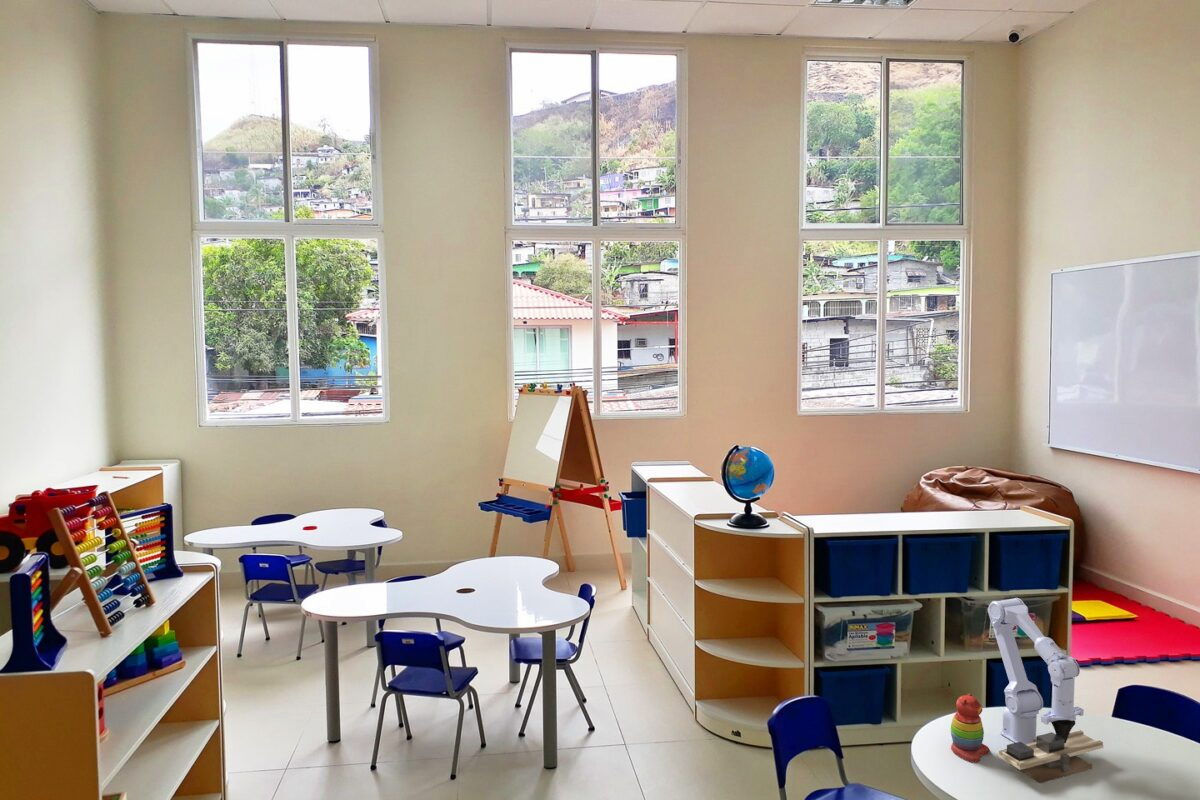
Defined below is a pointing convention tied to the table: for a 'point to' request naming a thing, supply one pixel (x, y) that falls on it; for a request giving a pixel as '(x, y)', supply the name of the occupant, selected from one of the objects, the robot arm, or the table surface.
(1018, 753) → the block
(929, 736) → the table surface
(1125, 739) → the table surface
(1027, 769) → the beam stand
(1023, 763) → the balance beam
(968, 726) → the stacking bear
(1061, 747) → the block
